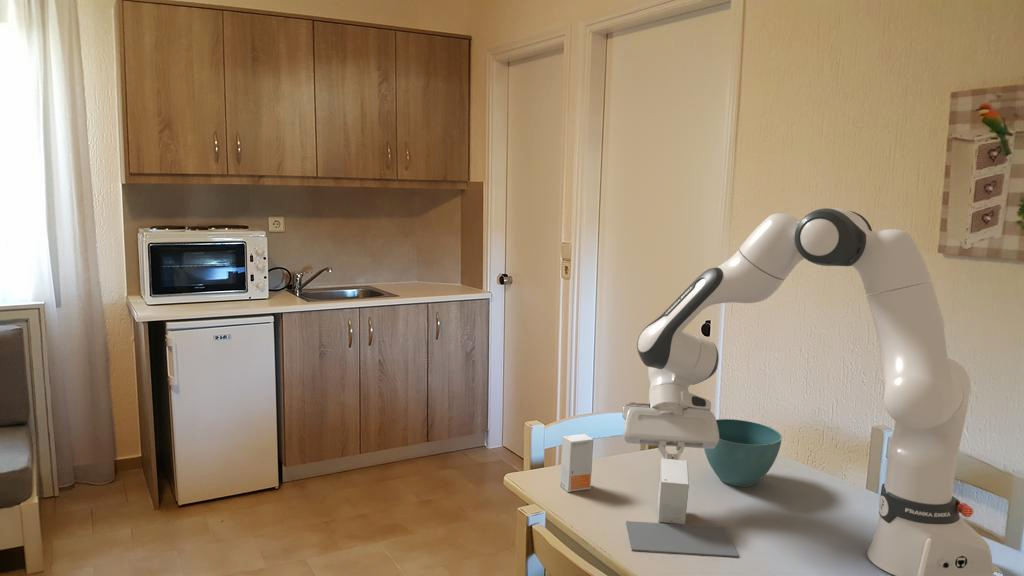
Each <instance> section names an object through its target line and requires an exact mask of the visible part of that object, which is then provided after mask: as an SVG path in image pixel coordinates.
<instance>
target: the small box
mask: <svg viewBox="0 0 1024 576" xmlns="http://www.w3.org/2000/svg"><path fill="white" fill-rule="evenodd" d="M688 462H689V461H687V460H684V459H683V460H682V459H680V460H673V459H664V457H662V458H660V468H659V480H658V481H659V483H658V492H657V493H658V495H657V501H658V504H657V510H658V511H657V513H658V514H657V521H658V522H657V523H667V524H684V525H686V517H687V508H688V497H689V488H690V482H689V480H690V478H689V464H688Z"/></svg>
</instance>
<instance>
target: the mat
mask: <svg viewBox="0 0 1024 576" xmlns="http://www.w3.org/2000/svg"><path fill="white" fill-rule="evenodd" d="M625 525H626V529H627V534H628V535H627V536H628V538H629V543H630V549H631V551H632V552H647V553H661V554H680V555H694V556H707V557H709V556H711V557H713V556H714V557H727V558H739V554H738V551H737V550H736V548H735V546H734V544H733V542H732V540H731V538H730V535H729V534H728V532H727V529H726V527H725V526H716V525H715V526H714V525H713V526H712V525H698V524H697V525H696V524H674V523H665V522H647V521H630V520H626V521H625Z"/></svg>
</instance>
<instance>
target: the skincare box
mask: <svg viewBox="0 0 1024 576" xmlns="http://www.w3.org/2000/svg"><path fill="white" fill-rule="evenodd" d="M561 445H562V446H561V456H560V457H561V458H560V459H561V461H560V478H559V479H560V480H559V486H560V487H561V488H563V490H565V491H566V492H567V493H569V492H570V493H572V492H577V491H585V490H591V487H592V486H591V485H592V469H593V467H592V466H593V458H594V456H593V453H594V438H592V437H591V436H589V435H588V434H586V433H581V434H570V435H563V436H562V443H561Z"/></svg>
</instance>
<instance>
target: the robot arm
mask: <svg viewBox="0 0 1024 576" xmlns="http://www.w3.org/2000/svg"><path fill="white" fill-rule="evenodd" d="M803 260H806V261H808V262H809V263H812V264H815V265H818V266H824V267H825V266H826V267H853V269H855V270H856V271H857V273H858V274H859V276H860V279H861V282H862V284H863V285H862V286H863V288H864V291H865V295H866V298H867V299H866V300H867V302H868V307H869V309H870V312H871V317H872V320H873V323H874V326H875V330H876V335H877V338H878V346H879V355H880V365H881V373H882V379H883V385H884V386H883V387H884V395H883V398H884V399H883V402H884V406H885V409H886V411H887V413H888V414H889V416H890V417H891V418H892V419H893V421H894V426H893V427H894V428H893V431H892V434H891V438H890V440H889V443H888V447H887V457H886V465H885V476H884V483H882V484H881V489H880V496H879V500H878V501H879V502H878V514H879V517H878V521H877V524H876V529H875V533H874V535H873V538H872V541H871V543H870V546H869V548H868V549H867V552H866V554H867V557H868V559H869V560H870V562H872V563H873V565H875V566H876V567H878V568H879V569H881V570H882V571H884V572H886V573H888V574H891V575H893V576H996V575H994V574H993V573H994V572H997V573H1000V574H1004V573H1003V572H1002V570H1001V569H1000V568H999V567H998V566H997V565H996V564H995V563H993V555H992V551H991V548H990V546H989V545H990V544H988V542H987V541H986V540H985V538H984V537H982V536H981V535H980V534H979V533H978V532H977V531H976V530H975V529H974V528H972V527H971V526H970V525H969V523H967V522H966V521H965V520H964V519H962V518H961V516H960V514H961V515H962V516H963V517H965V518H970V517H972V516H973V515H974V509H973V508H972V507H971V506H969V505H968V504H967V503H966V502H961V501H960V500H959V499H958V498H956V497H954V496H953V490H954V483H955V475H956V466H957V459H958V454H959V449H960V444H961V441H962V436H963V432H964V427H965V422H966V418H967V417H966V416H967V411H968V406H969V400H970V395H971V379H970V376H969V373H968V372H967V370H966V369H965V367H963V365H962V364H960V363H959V362H957V361H956V360H954V359H951V358H949V356H948V351H947V343H946V337H945V335H946V334H945V321H944V318H943V315H942V311H941V307H940V304H939V301H938V298H937V295H936V290H935V287H934V285H933V281H932V277H931V274H930V272H929V269H928V266H927V264H926V261H925V258H924V257H923V254H922V252H921V250H920V248H919V247H918V245H917V243H916V241H915V240H914V237H913V236H912V235H911V234H910V233H908V232H907V231H905V230H902V229H896V228H886V229H882V230H878V231H877V230H876V231H873V229H872V227H871V224H870V223H869V221H868V220H867V219H866V218H865V217H864V216H862V215H861V214H860V213H858V212H855V211H851V210H848V209H845V208H840V207H830V208H826V207H825V208H819V209H815V210H813V211H811V212H809V213H807V214H806V215H804V217H802V219H801V220H800V219H798V218H797V217H795V216H793V215H790V214H788V213H780V212H778V213H773V214H771V215H769V216H767V217H766V218H765V219H764V220H763V221H762V222H760V224H758V226H757V227H756V228H754V230H753V231H752V232H751V233H750V234H749V235H748V237H746V239H745V240H744V241H743V243H742V244H741V246H740V247H739V248H738V250H737V251H736V252H735V253H734V254H733V255H732V256H731V257H730V258H728V259H727V260H726V261H725V262H723V263H721V264H720V265H718V266H715V267H711V268H708V269H706V270H705V271H704V272H702V273H701V274H700V275H699V276H697V277H696V279H695V280H694V281H693V282H691V284H690V285H689V286H688V287H687V288H686V289H685V290H684V291H683V292H682V293H681V294H680V295H679V296H678V297H677V298H676V299H675V300H674V301H673V302H672V303H671V304H670V306H668V307H667V309H665V310H664V312H662V314H660V315H659V316H658V317H657V318H655V319H654V320H653V321H652V322H650V323H649V324H648V325H646V326H645V327H644V329H642V331H641V332H640V334H639V336H638V339H637V342H636V349H637V353H638V356H639V358H640V360H641V361H642V363H643V364H644V366H646V367H648V368H647V371H648V372H647V373H648V374H647V375H648V381H649V384H650V387H649V389H648V403H647V402H641V403H640V402H639V403H638V402H629V403H627V404H625V405H624V406H623V407H622V419H623V420H625V423H624V427H623V428H624V429H623V440H624V441H625V442H626V443H627V444H634V445H637V444H638V445H647V446H648V445H649V446H651V445H652V446H657V447H658V448H657V449H658V451H659V453H660V454H661V456H662V458H663V459H673V460H681V455H682V453H683V452H684V449H685V448H697V449H704V448H707V449H714V448H715V447H716V446H717V444H718V442H719V431H718V426H717V422H716V420H717V419H716V418H717V417H716V416H715V413H713V412H712V411H711V407H712V402H711V400H709V399H707V398H704V397H701V396H698V395H696V394H693V393H691V392H689V387H690V386H691V385H692V386H693V385H694V386H695V385H697V384H700V383H702V382H704V381H706V380H708V379H710V378H711V377H712V376H713V375H715V373H716V372H717V370H718V367H719V366H718V365H719V359H720V358H719V351H718V348H717V346H716V344H715V342H712V341H711V340H709V339H706V338H705V337H704V338H703V337H701V336H699V335H695V334H693V333H690V332H687V331H685V330H684V329H686V328H687V327H688V325H690V324H691V322H693V320H694V319H695V318H696V317H698V315H699V314H701V312H702V311H704V310H705V309H707V308H708V307H710V306H713V305H718V304H726V303H727V304H728V303H729V304H731V303H733V304H734V303H739V304H755V303H759V302H762V301H765V300H767V299H768V298H769V297H771V296H773V295H774V294H775V293H776V292H777V290H778V289H779V288H780V287H781V285H782V284H783V282H784V281H785V280H786V279H787V277H788V276H789V275H790V273H792V271H793V269H794V268H795V267H796V266H797V265H798V264H800V262H801V261H803ZM666 447H676V451H677V452H676V453H669V452H668V451H667V449H666Z"/></svg>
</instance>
